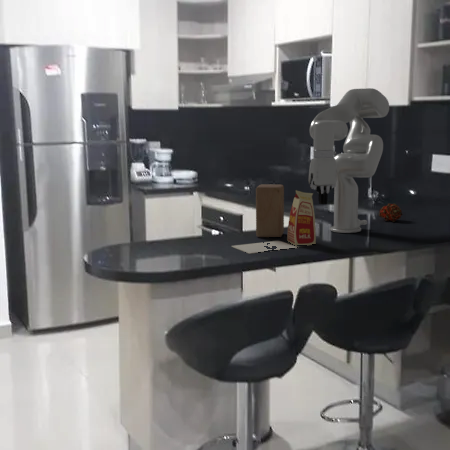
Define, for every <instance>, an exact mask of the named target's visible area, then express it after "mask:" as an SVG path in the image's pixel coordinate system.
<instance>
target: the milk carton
mask: <svg viewBox="0 0 450 450" xmlns="http://www.w3.org/2000/svg"><path fill="white" fill-rule="evenodd" d="M313 195H314V192H313V193H312V192H304V191H300V190H297V189H296V190H295V195H294V196H293V197H294V198H293V200H292V201H293V202H292V205H291V208H290V211H289V218H288V223H287V224H288V225H287V237H286V240H287V241H288V242H287V243H289V242H290V243H291V244H290V243H289V244H290V245H292V244H293V246H294V245H295V246H296V247H298V246H297V245H307V246H313V245H312V244H316V242H317V240H316V239H317V238H316V237H317V235H316V234H317V232H316V216H315V209H314V200H313ZM316 245H317V244H316Z"/></svg>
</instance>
